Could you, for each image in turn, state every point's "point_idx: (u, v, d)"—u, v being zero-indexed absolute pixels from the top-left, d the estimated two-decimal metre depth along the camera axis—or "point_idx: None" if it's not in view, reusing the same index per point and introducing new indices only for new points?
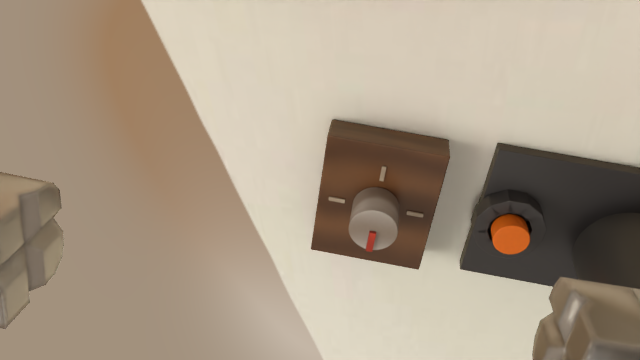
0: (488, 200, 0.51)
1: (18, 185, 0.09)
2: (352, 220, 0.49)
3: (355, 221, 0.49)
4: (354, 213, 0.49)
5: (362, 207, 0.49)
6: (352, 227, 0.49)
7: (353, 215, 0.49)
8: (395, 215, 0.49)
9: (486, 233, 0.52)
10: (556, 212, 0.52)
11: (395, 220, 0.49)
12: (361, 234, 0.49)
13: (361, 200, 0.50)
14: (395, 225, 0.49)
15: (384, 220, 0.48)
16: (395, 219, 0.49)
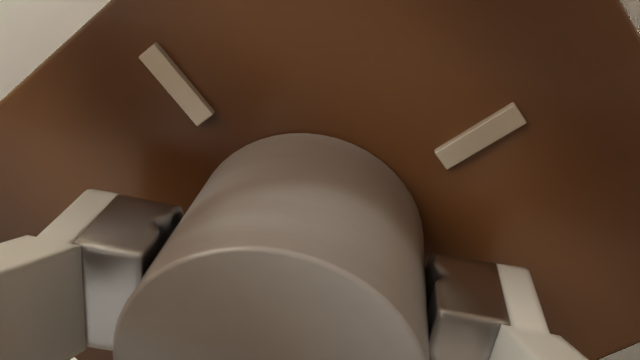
0: None
1: (150, 209, 0.09)
2: (208, 259, 0.07)
3: (220, 278, 0.07)
4: (246, 224, 0.07)
5: (314, 228, 0.07)
6: (171, 292, 0.07)
7: (233, 232, 0.07)
8: None
9: None
10: None
11: None
12: (186, 358, 0.07)
13: (317, 183, 0.08)
14: None
15: None
16: None
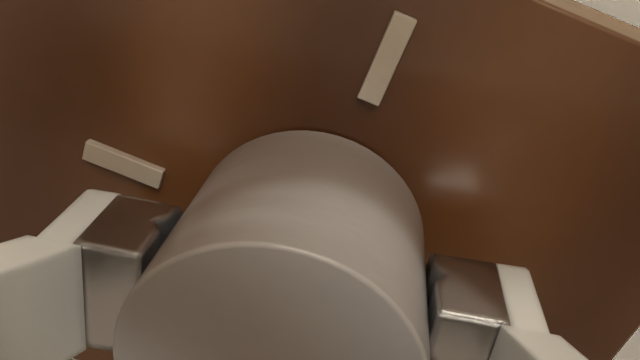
0: None
1: (150, 209, 0.09)
2: (208, 254, 0.07)
3: (220, 273, 0.07)
4: (246, 220, 0.07)
5: (315, 223, 0.07)
6: (171, 288, 0.07)
7: (234, 228, 0.07)
8: None
9: None
10: None
11: None
12: (186, 354, 0.07)
13: (317, 180, 0.08)
14: None
15: None
16: None
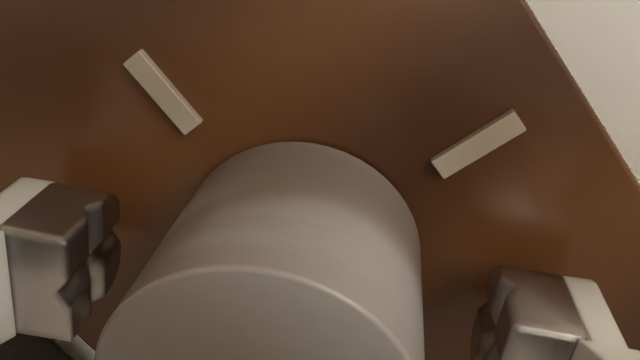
0: None
1: (82, 197, 0.09)
2: (187, 279, 0.06)
3: (201, 299, 0.07)
4: (227, 242, 0.07)
5: (300, 243, 0.07)
6: (151, 315, 0.07)
7: (214, 250, 0.07)
8: None
9: None
10: None
11: None
12: None
13: (303, 195, 0.08)
14: None
15: None
16: None
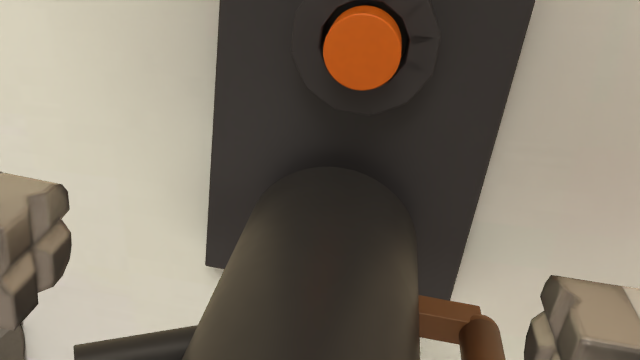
0: None
1: (27, 187, 0.09)
2: None
3: None
4: None
5: None
6: None
7: None
8: None
9: None
10: (386, 123, 0.28)
11: None
12: None
13: None
14: None
15: None
16: None
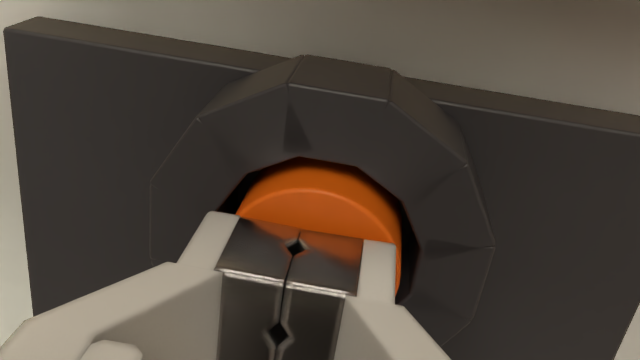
0: (458, 135, 0.10)
1: (276, 232, 0.09)
2: None
3: None
4: None
5: None
6: None
7: None
8: None
9: (284, 154, 0.10)
10: None
11: None
12: None
13: None
14: None
15: None
16: None
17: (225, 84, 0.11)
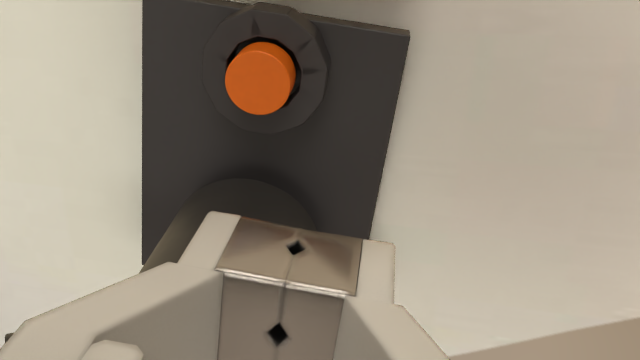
0: (315, 30, 0.28)
1: (276, 232, 0.09)
2: None
3: None
4: None
5: None
6: None
7: None
8: None
9: (251, 35, 0.28)
10: (291, 140, 0.32)
11: None
12: None
13: None
14: None
15: None
16: None
17: (229, 14, 0.29)
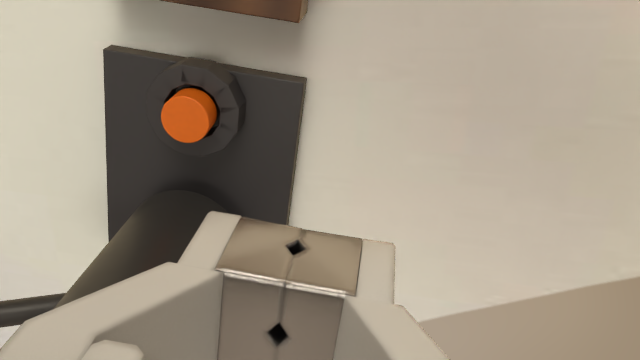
0: (230, 79, 0.37)
1: (277, 232, 0.09)
2: None
3: None
4: None
5: None
6: None
7: None
8: None
9: (181, 83, 0.37)
10: (220, 160, 0.41)
11: None
12: None
13: None
14: None
15: None
16: None
17: (168, 65, 0.38)
